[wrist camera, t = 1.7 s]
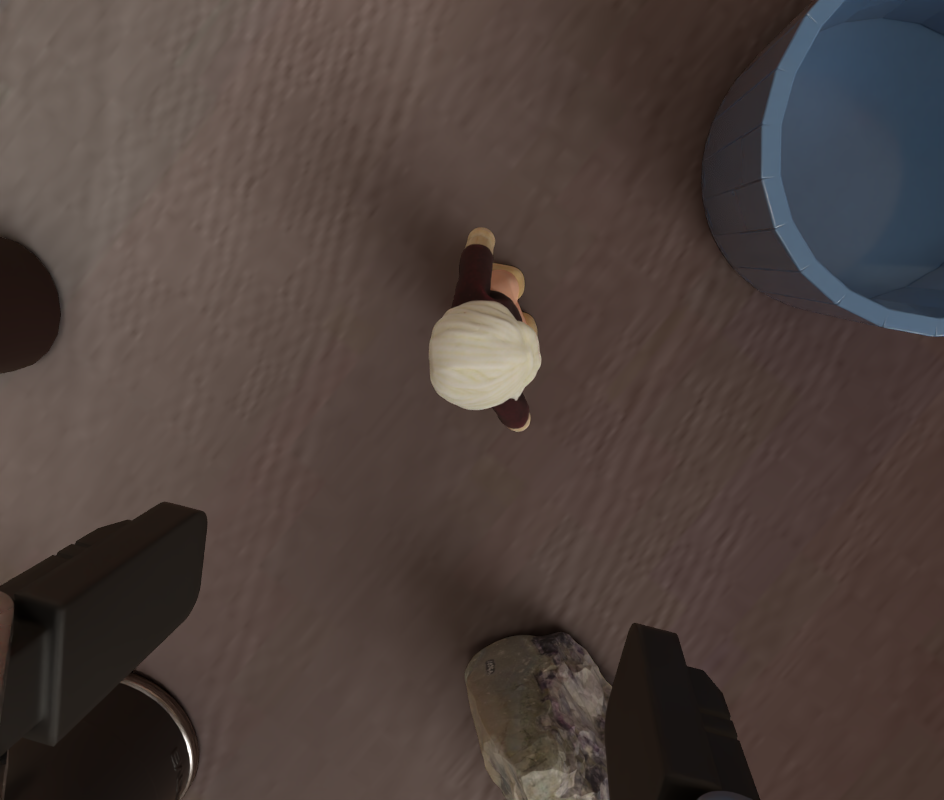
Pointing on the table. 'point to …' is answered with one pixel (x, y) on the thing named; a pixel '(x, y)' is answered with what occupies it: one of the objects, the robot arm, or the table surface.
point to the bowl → (838, 165)
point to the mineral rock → (540, 717)
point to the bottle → (25, 307)
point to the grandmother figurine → (486, 338)
